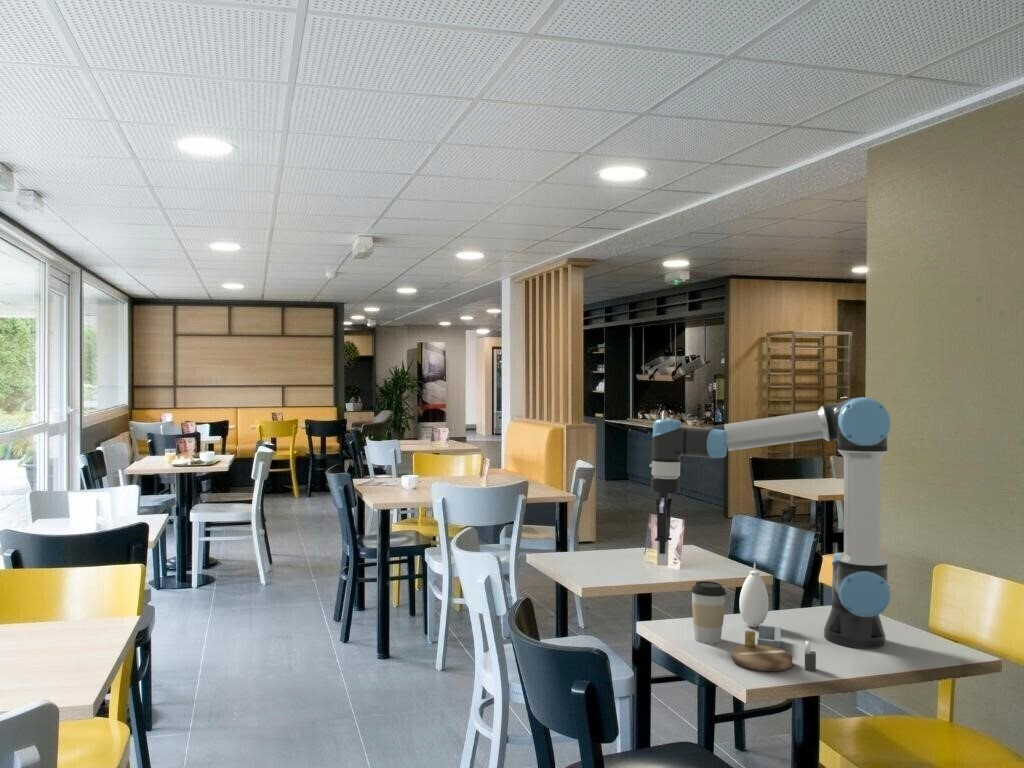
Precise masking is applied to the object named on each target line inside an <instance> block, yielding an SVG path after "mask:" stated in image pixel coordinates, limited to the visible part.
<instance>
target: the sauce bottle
mask: <svg viewBox="0 0 1024 768" xmlns="http://www.w3.org/2000/svg"><path fill="white" fill-rule="evenodd" d="M756 568H757V567H756V562H754V564H753V570H750V571H749V574H748V576H747V577H746V578H745V580H744V582H743V584H742V588H741V590H740V594H739V600H738V601H739V602H738V603H739V606H738V607H739V613H740V615H741V618H742V620H743V621H744V623H746V625H748V626H750V627H749V628H758V627H759V625H762V624H763V623H764V622H765V620H766V618H767V616H768V614H769V613H768V611H769V595H768V591H767V587H766V585H765V582H764V580H763V578H762V577H761V575H760V571H757V570H756Z"/></svg>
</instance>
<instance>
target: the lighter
mask: <svg viewBox="0 0 1024 768" xmlns="http://www.w3.org/2000/svg"><path fill="white" fill-rule="evenodd" d="M816 668H817V652H816V651H813V650H811V641H810V640H805V649H804V671H807V672H816V671H817V669H816Z"/></svg>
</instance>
